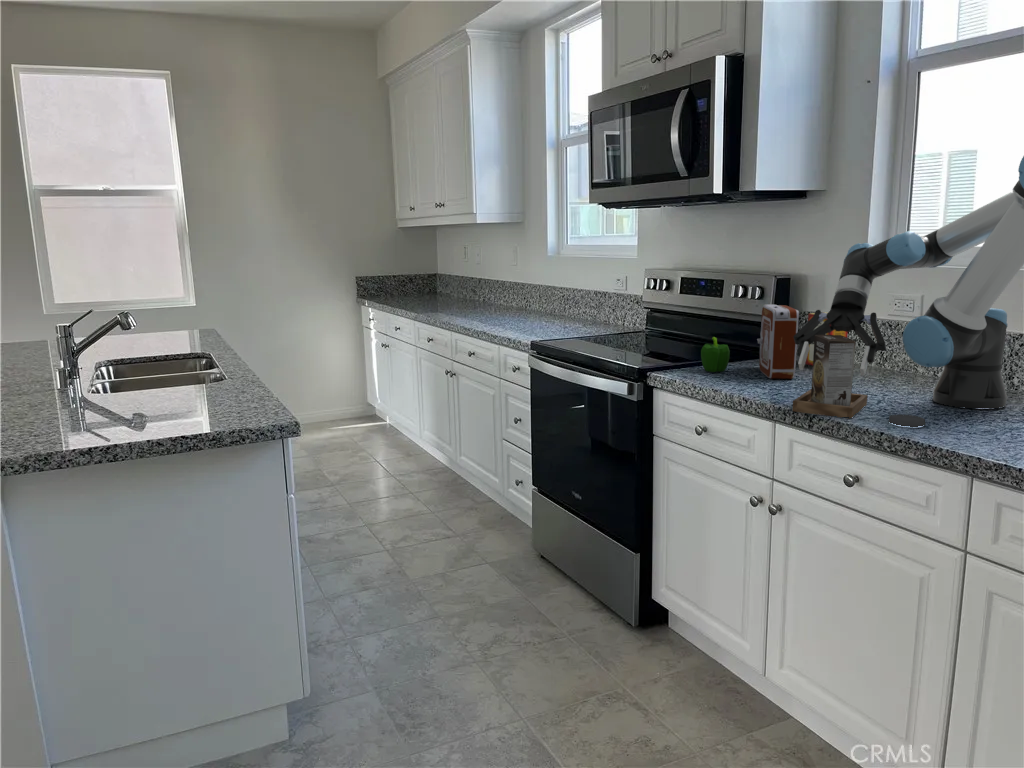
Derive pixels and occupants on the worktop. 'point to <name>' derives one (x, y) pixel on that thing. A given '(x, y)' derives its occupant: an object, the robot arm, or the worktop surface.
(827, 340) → the coffee box
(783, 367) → the vintage travel case
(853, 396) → the tray
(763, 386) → the worktop surface
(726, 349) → the bell pepper
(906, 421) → the lens cap
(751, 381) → the worktop surface
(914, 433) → the worktop surface
